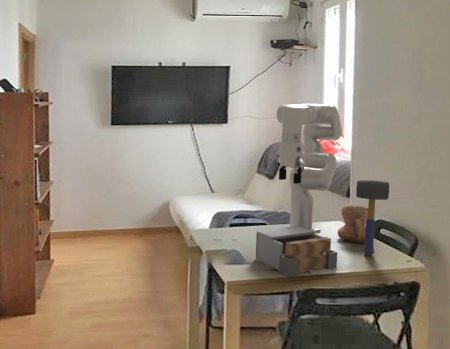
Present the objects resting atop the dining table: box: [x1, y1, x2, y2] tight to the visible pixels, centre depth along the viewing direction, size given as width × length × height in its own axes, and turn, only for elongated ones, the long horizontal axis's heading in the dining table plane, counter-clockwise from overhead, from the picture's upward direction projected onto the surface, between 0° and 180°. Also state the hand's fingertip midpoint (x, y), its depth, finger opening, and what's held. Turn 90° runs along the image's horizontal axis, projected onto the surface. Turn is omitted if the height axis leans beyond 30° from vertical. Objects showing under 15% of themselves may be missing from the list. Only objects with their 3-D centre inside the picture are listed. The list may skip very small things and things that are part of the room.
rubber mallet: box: [355, 179, 390, 256], centre depth 221 cm, size 12×8×30 cm, turn 75°
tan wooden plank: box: [285, 236, 332, 274], centre depth 202 cm, size 18×4×11 cm, turn 120°
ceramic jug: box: [337, 205, 368, 243], centre depth 244 cm, size 18×14×14 cm
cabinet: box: [255, 226, 338, 278], centre depth 210 cm, size 22×22×11 cm
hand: (289, 181), depth 223 cm, fingers open, 9 cm apart
